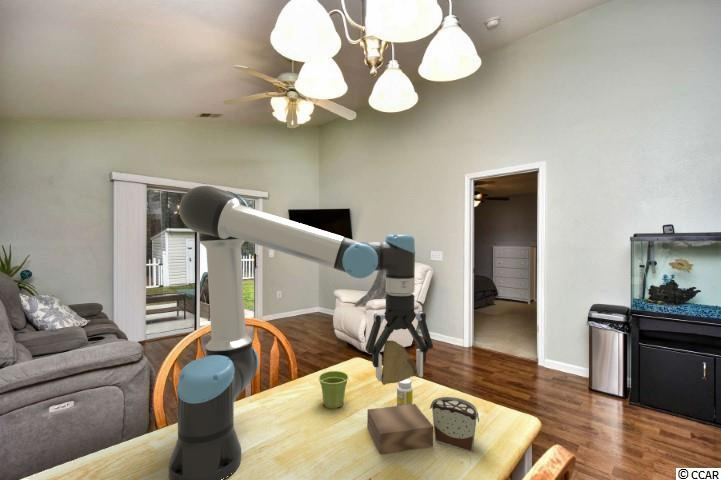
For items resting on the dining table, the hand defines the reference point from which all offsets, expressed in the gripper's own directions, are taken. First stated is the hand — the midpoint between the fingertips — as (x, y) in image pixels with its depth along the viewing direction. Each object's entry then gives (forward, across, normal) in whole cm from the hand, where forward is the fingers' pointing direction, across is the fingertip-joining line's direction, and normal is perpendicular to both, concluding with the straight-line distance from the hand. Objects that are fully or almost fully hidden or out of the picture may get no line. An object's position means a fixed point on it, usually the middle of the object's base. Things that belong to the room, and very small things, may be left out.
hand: (399, 376), depth 91 cm
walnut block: (+16, 0, 0) cm, 16 cm away
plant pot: (+16, -14, +21) cm, 30 cm away
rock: (+1, 0, 0) cm, 1 cm away
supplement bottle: (+16, +7, +14) cm, 22 cm away
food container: (+16, +14, -5) cm, 22 cm away
